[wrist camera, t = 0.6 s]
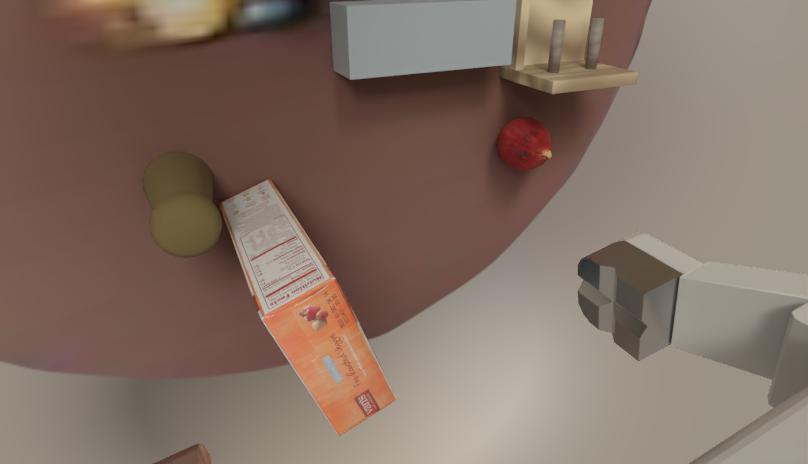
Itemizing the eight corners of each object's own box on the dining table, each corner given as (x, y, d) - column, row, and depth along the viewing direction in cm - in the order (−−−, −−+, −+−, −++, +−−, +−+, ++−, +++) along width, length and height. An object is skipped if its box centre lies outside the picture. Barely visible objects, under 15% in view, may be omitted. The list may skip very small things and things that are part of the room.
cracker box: (325, 276, 59) (401, 402, 42) (277, 302, 58) (335, 443, 41) (272, 173, 51) (339, 278, 35) (215, 200, 50) (256, 323, 33)
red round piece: (481, 160, 61) (521, 183, 55) (487, 111, 59) (530, 130, 52) (521, 156, 64) (564, 178, 57) (529, 109, 61) (575, 127, 55)
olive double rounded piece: (144, 148, 45) (146, 194, 37) (216, 155, 48) (234, 199, 40) (140, 211, 48) (141, 269, 39) (210, 215, 51) (226, 269, 42)
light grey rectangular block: (332, 70, 50) (350, 79, 46) (328, 1, 47) (346, 5, 43) (483, 56, 56) (510, 64, 52) (487, -5, 53) (516, -1, 49)
